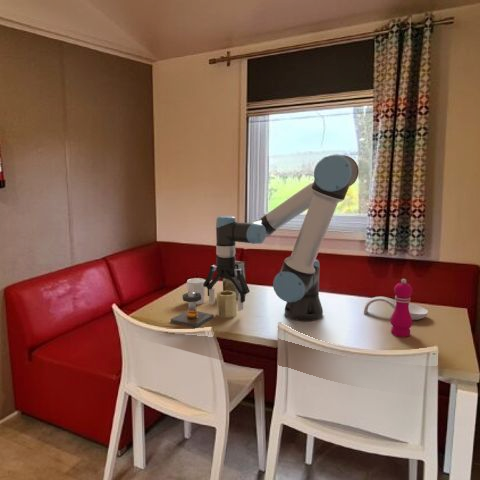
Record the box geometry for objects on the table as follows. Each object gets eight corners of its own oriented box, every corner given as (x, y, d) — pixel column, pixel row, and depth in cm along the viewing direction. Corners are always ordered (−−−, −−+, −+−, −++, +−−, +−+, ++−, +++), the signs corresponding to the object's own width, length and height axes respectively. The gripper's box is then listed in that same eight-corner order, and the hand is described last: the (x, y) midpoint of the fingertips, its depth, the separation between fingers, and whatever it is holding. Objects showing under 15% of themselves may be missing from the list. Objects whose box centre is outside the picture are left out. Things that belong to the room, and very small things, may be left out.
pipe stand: (213, 317, 159) (213, 290, 157) (196, 327, 149) (195, 299, 147) (189, 312, 165) (188, 286, 163) (170, 322, 155) (169, 294, 153)
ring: (204, 297, 157) (204, 294, 156) (193, 302, 151) (193, 298, 151) (190, 295, 160) (189, 291, 160) (179, 300, 154) (179, 296, 154)
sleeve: (239, 313, 163) (238, 292, 162) (229, 319, 157) (229, 297, 156) (224, 310, 167) (223, 289, 165) (214, 316, 161) (214, 294, 159)
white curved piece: (425, 314, 161) (427, 297, 160) (429, 325, 150) (430, 306, 149) (364, 308, 168) (365, 292, 167) (363, 318, 157) (364, 300, 156)
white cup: (207, 299, 181) (206, 278, 179) (203, 305, 173) (203, 283, 172) (189, 299, 182) (189, 277, 180) (185, 305, 174) (185, 282, 173)
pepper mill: (406, 329, 145) (409, 275, 142) (415, 337, 138) (419, 281, 135) (386, 329, 145) (389, 276, 142) (394, 338, 138) (398, 281, 135)
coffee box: (246, 295, 187) (246, 261, 184) (239, 299, 181) (238, 264, 179) (230, 292, 192) (229, 259, 189) (222, 296, 186) (221, 262, 183)
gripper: (258, 257, 155) (257, 309, 159) (205, 250, 167) (205, 299, 171) (249, 261, 148) (248, 315, 152) (194, 253, 161) (195, 304, 164)
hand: (226, 307), depth 162 cm, fingers open, 13 cm apart
